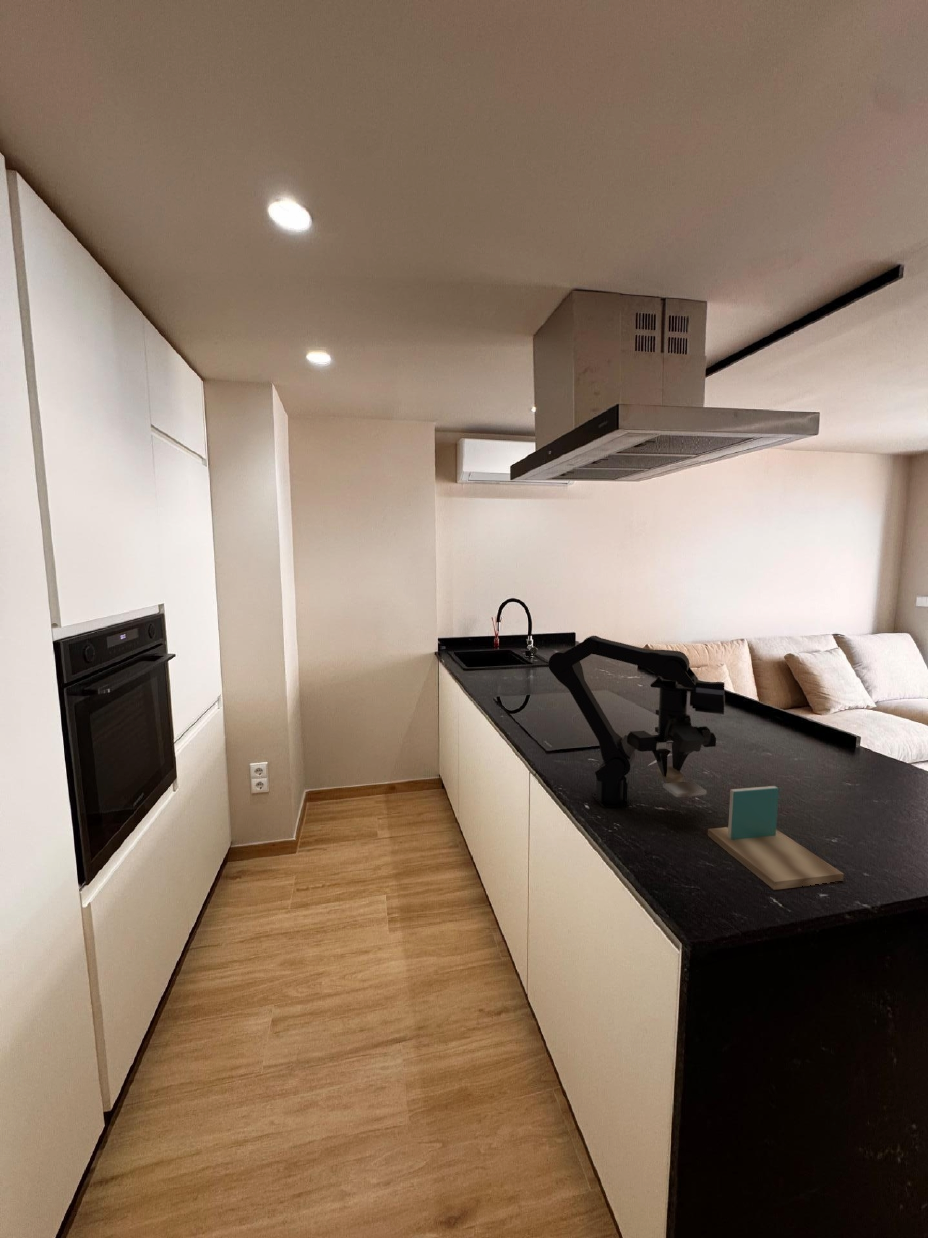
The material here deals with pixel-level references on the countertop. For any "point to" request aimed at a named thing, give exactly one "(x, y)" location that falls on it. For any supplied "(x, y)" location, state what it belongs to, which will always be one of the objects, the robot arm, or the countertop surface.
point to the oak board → (777, 860)
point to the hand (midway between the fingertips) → (669, 775)
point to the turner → (680, 784)
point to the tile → (753, 812)
